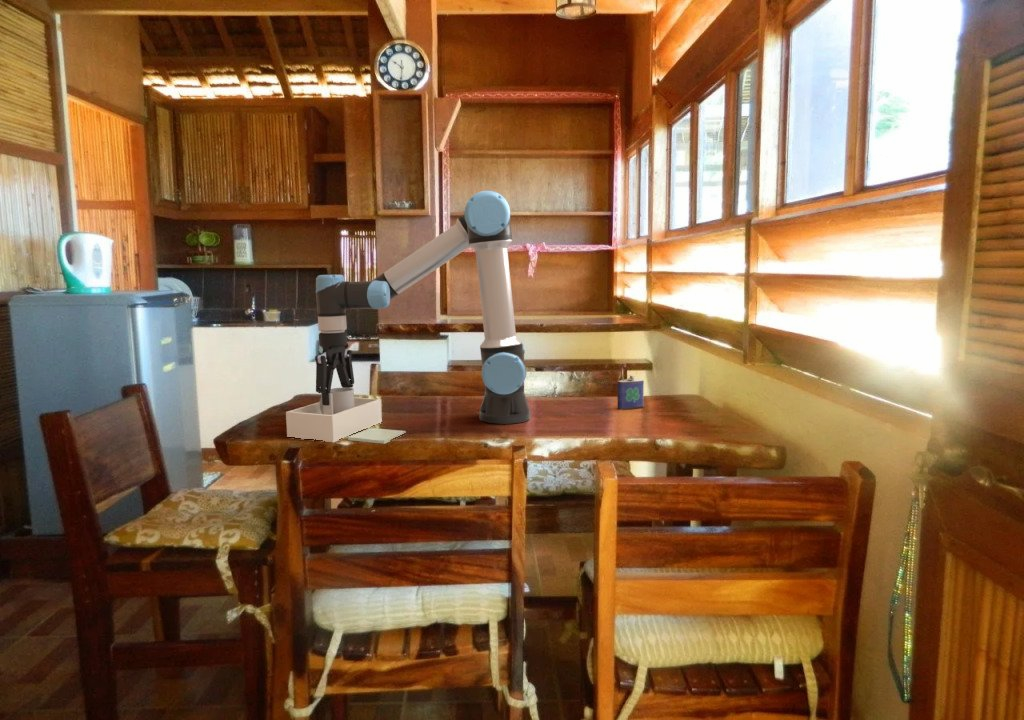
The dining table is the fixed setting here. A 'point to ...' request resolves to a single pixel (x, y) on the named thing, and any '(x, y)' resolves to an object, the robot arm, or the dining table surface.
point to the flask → (630, 393)
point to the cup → (340, 399)
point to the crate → (333, 420)
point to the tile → (376, 435)
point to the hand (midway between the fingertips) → (337, 413)
